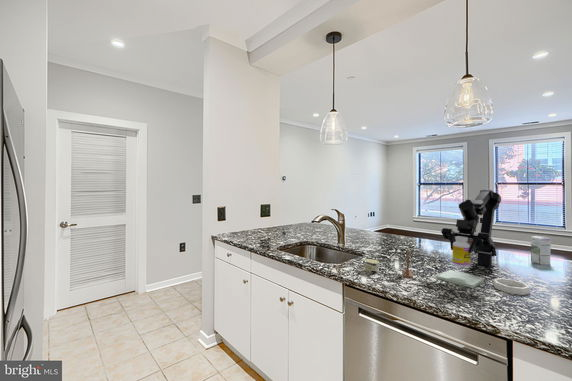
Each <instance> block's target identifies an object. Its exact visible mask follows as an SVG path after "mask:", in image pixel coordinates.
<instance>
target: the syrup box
mask: <svg viewBox="0 0 572 381" xmlns="http://www.w3.org/2000/svg"><path fill="white" fill-rule="evenodd" d="M530 238H531V239H530V242H531V243H530V262H532V263H534V264H538V265H541V266H545V265H546V266H548V265H551V249H552V248H551V247H552V245H551V244H552V241H551V240H552V238H550V237H546V236H542V235H541V236H540V235H533V236H531V237H530Z"/></svg>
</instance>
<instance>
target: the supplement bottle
mask: <svg viewBox="0 0 572 381" xmlns="http://www.w3.org/2000/svg"><path fill="white" fill-rule="evenodd" d="M455 239H456V242H454V243H453V250H452V260H451V263H452V265H453V266H456V267H460V268H469V267H470V265H471V253H469V248H470V246H471V244H470V243H469V242H468V241H469V239H468V238H467V237H463V236H456V237H455Z"/></svg>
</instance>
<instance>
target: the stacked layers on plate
mask: <svg viewBox="0 0 572 381" xmlns="http://www.w3.org/2000/svg"><path fill="white" fill-rule="evenodd" d="M363 260H364V261H365V262H363V264H364V266H363V268H364V271H365V272H368V273H372V272H375V273H378V272H379V268H380V267H379V261H380V260H377V259H371V258H366V259H363Z"/></svg>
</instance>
